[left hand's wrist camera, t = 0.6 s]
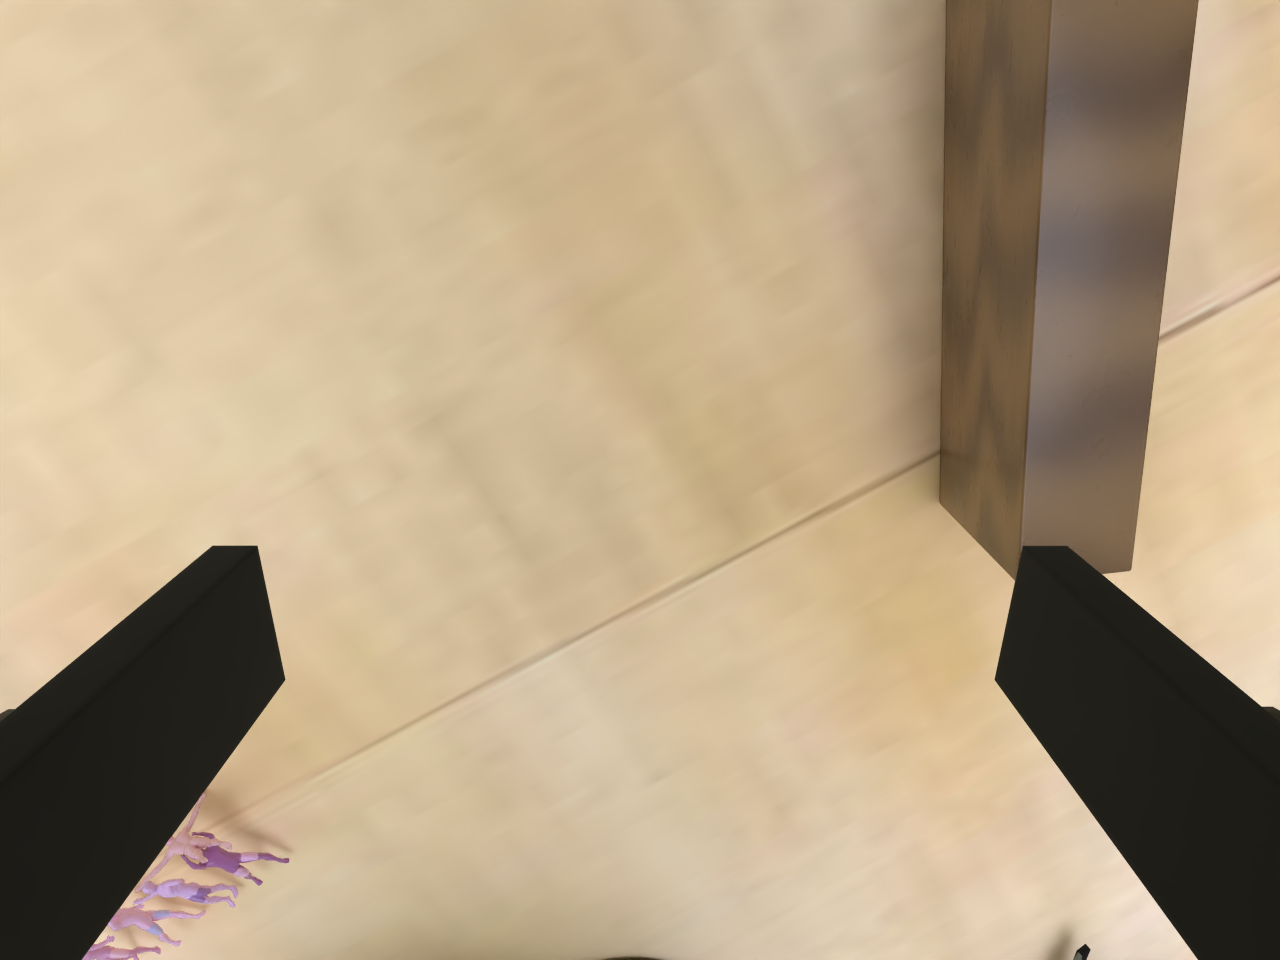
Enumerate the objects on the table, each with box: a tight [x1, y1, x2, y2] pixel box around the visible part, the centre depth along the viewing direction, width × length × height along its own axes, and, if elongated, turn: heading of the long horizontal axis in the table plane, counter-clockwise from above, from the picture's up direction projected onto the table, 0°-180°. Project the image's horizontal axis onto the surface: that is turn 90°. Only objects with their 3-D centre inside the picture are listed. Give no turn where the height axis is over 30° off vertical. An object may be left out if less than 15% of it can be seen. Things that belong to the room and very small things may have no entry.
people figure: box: [82, 792, 289, 960], centre depth 46 cm, size 18×6×8 cm
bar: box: [940, 0, 1198, 580], centre depth 30 cm, size 24×5×8 cm, turn 8°
